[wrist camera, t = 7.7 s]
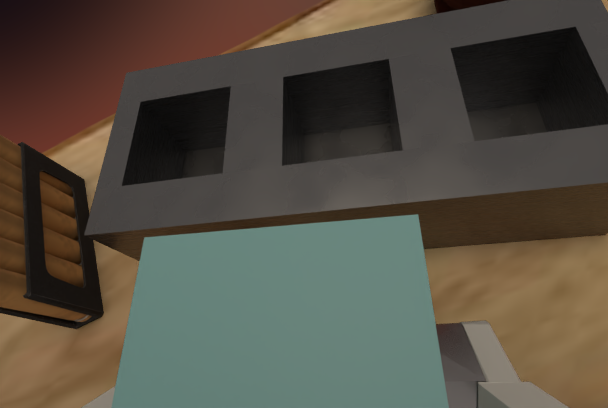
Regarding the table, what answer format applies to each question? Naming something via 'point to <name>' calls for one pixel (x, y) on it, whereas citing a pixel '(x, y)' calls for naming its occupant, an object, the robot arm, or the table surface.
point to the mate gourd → (460, 4)
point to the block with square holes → (374, 132)
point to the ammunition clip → (45, 241)
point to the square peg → (284, 319)
